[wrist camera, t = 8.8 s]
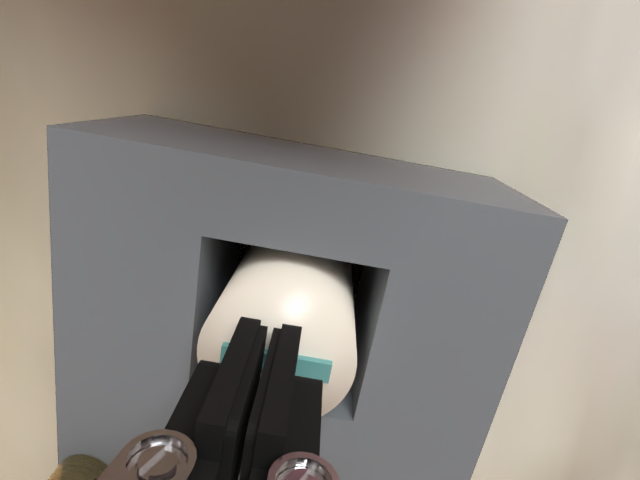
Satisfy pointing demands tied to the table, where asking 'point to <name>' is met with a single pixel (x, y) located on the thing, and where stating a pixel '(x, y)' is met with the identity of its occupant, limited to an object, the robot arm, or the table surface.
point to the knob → (292, 314)
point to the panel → (298, 237)
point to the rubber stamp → (79, 468)
